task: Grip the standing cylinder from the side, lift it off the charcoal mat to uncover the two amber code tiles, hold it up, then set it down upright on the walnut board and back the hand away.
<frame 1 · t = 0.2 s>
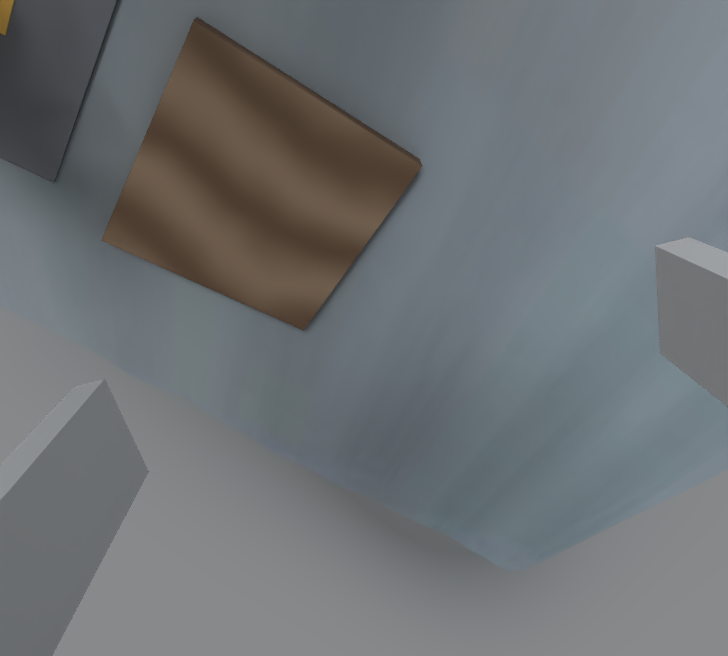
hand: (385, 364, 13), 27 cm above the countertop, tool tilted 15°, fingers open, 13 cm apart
target board: (259, 196, 39), on the countertop
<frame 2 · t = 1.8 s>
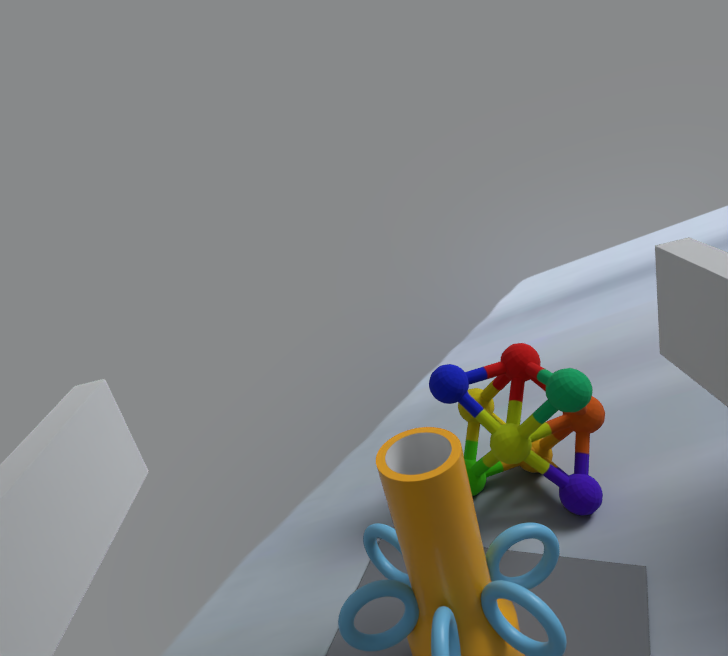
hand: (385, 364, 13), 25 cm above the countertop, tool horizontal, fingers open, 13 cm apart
molecular model: (529, 487, 44), on the countertop
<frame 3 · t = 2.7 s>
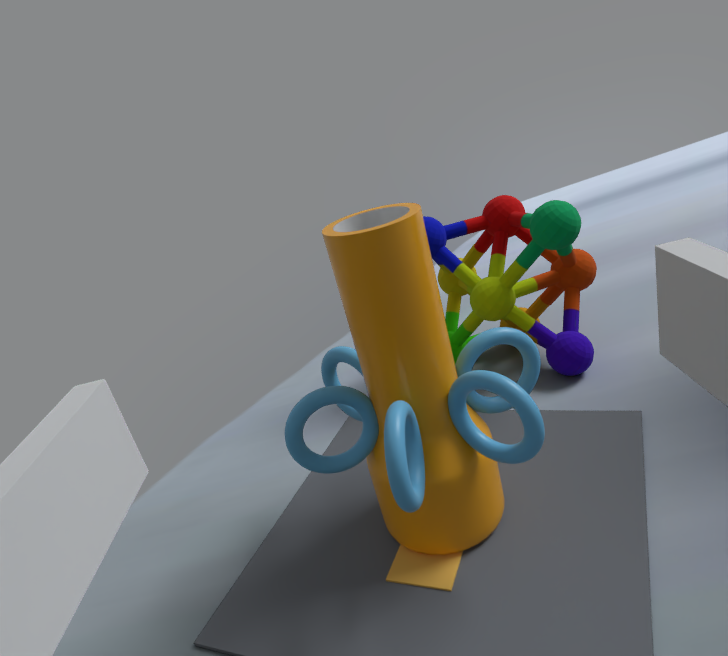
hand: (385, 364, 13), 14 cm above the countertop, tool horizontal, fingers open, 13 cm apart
cylinder: (444, 514, 28), resting on code mat
code mat: (444, 516, 28), on the countertop
molecular model: (515, 360, 41), on the countertop
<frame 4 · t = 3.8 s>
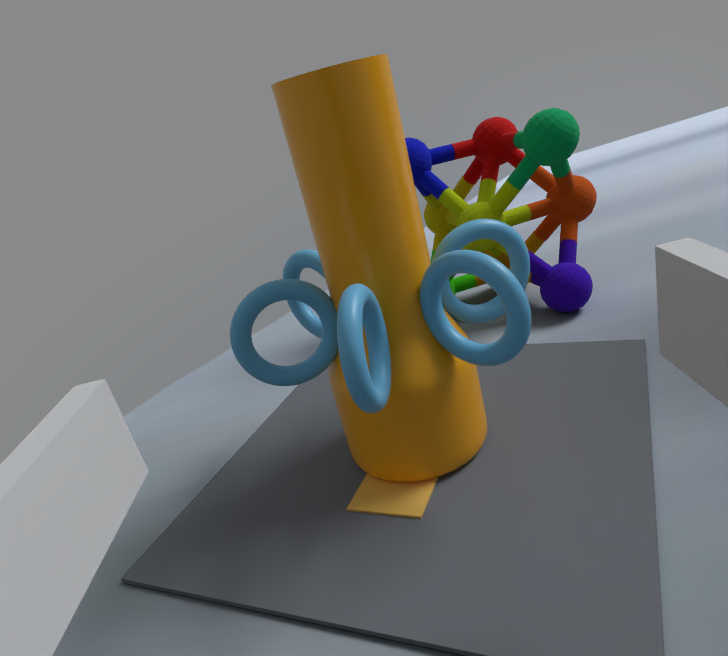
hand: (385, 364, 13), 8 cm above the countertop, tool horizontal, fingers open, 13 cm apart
cylinder: (419, 444, 24), resting on code mat
code mat: (419, 446, 24), on the countertop
molecular model: (507, 302, 37), on the countertop
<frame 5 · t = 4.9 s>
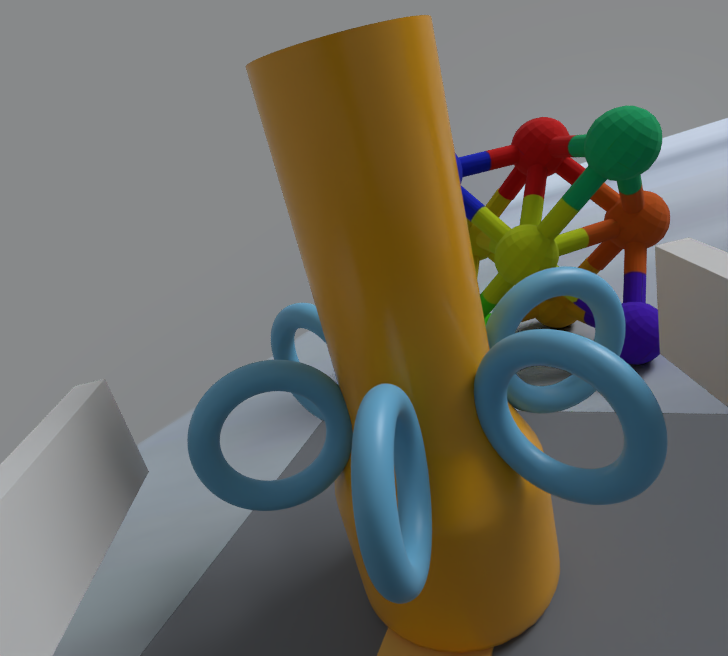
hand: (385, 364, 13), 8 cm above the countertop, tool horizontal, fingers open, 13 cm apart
cylinder: (460, 574, 17), resting on code mat
code mat: (460, 576, 17), on the countertop
molecular model: (552, 345, 30), on the countertop
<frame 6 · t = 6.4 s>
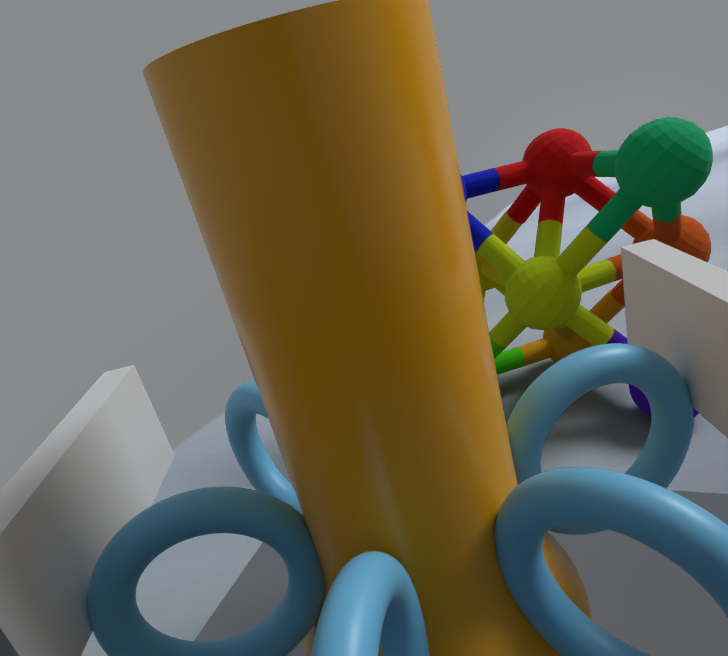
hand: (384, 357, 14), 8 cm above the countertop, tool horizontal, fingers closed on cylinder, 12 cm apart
molecular model: (569, 391, 26), on the countertop
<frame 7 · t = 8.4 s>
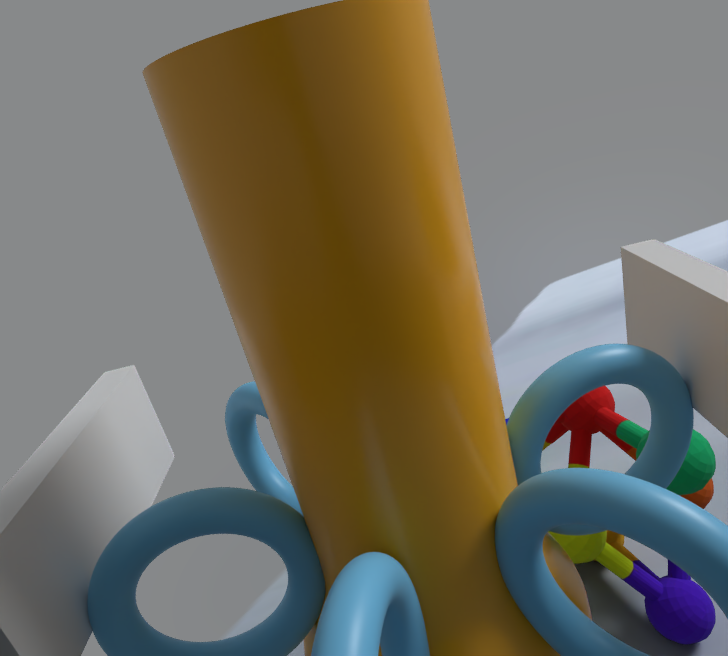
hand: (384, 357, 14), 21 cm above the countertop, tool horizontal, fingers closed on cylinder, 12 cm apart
molecular model: (592, 583, 31), on the countertop
when the fingers open (10 cm above the countertop, at t = 14.5 s): cylinder drops 1 cm, resting on target board.
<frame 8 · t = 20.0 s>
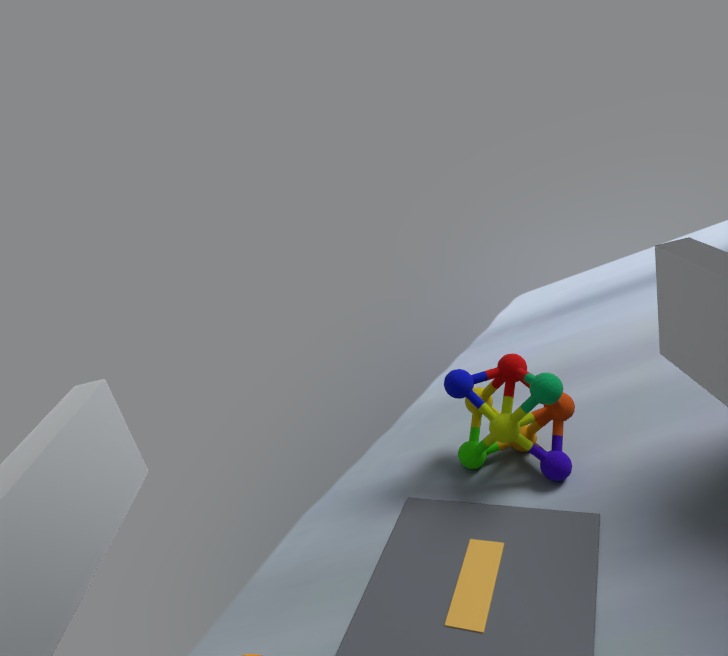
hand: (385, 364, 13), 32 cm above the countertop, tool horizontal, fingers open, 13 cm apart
code mat: (476, 583, 46), on the countertop
molecular model: (519, 462, 58), on the countertop
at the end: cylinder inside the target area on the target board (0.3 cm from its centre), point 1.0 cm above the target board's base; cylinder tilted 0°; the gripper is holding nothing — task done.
